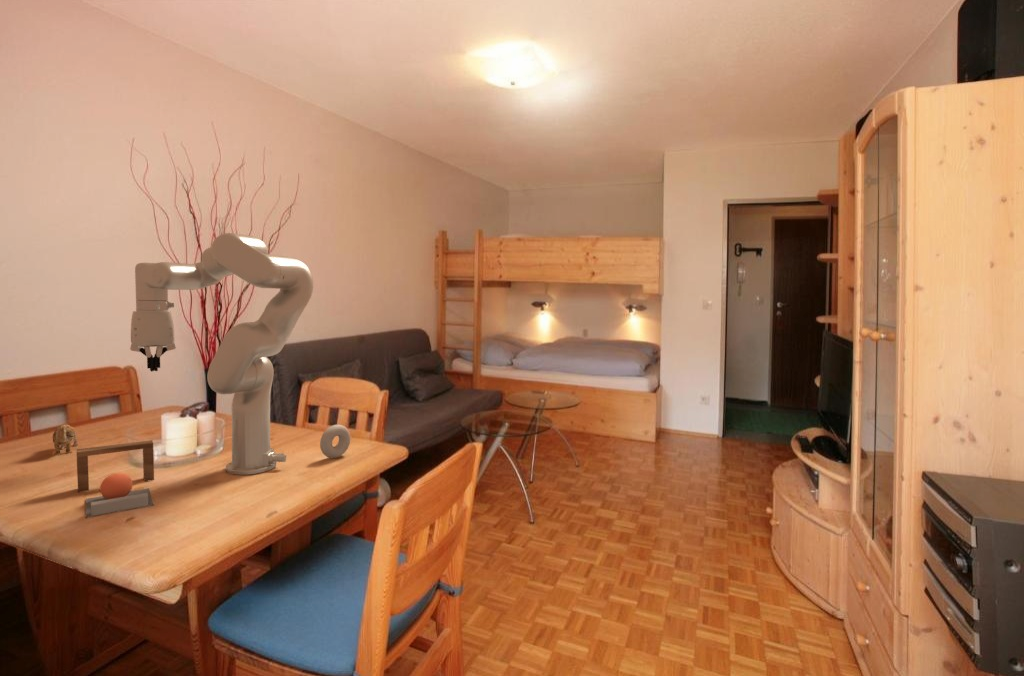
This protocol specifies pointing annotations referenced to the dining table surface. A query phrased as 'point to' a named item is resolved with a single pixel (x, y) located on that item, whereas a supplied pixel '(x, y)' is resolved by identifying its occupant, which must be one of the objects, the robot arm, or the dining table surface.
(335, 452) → the donut
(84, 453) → the bridge
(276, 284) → the robot arm
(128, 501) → the wall
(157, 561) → the dining table surface
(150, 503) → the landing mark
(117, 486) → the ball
